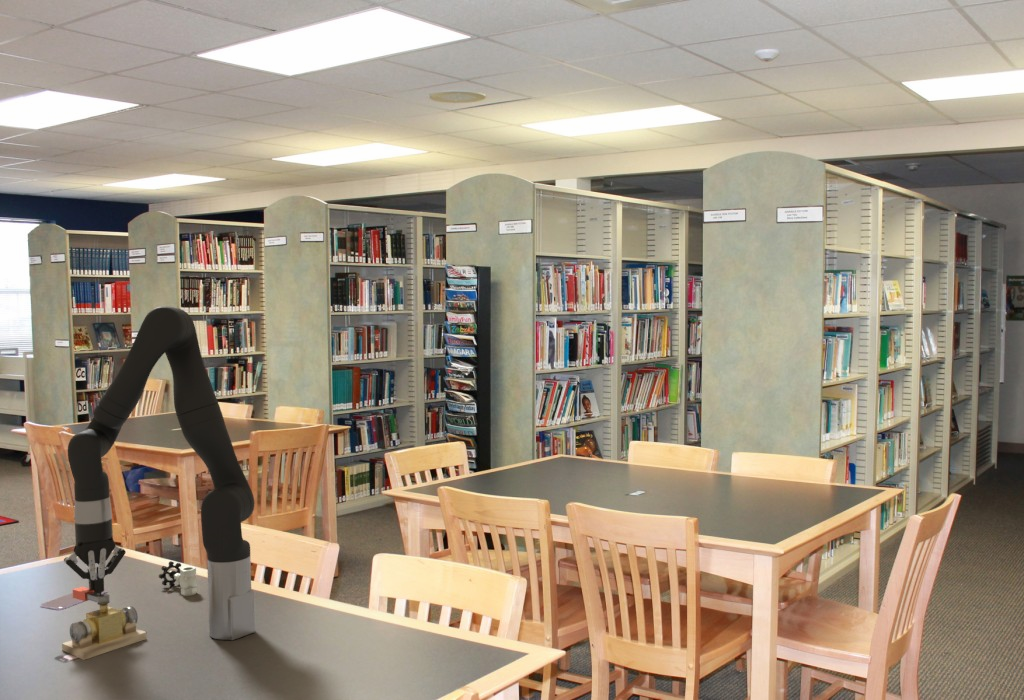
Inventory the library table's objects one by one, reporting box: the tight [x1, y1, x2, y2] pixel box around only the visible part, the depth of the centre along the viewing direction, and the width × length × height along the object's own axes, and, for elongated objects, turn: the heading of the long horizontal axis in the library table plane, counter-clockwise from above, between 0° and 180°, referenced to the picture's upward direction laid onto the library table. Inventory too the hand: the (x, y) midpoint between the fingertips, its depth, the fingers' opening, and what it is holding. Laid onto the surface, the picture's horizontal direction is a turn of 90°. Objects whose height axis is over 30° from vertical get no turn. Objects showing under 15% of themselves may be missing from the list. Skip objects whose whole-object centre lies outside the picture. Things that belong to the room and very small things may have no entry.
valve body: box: [69, 603, 139, 644], centre depth 190 cm, size 5×13×8 cm, turn 144°
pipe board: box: [61, 622, 147, 660], centre depth 190 cm, size 9×14×4 cm, turn 144°
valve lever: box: [72, 586, 111, 606], centre depth 192 cm, size 11×2×2 cm, turn 58°
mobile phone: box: [39, 586, 109, 611], centre depth 221 cm, size 8×1×15 cm
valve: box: [158, 560, 198, 597], centre depth 227 cm, size 7×7×12 cm
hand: (97, 594), depth 197 cm, fingers closed
